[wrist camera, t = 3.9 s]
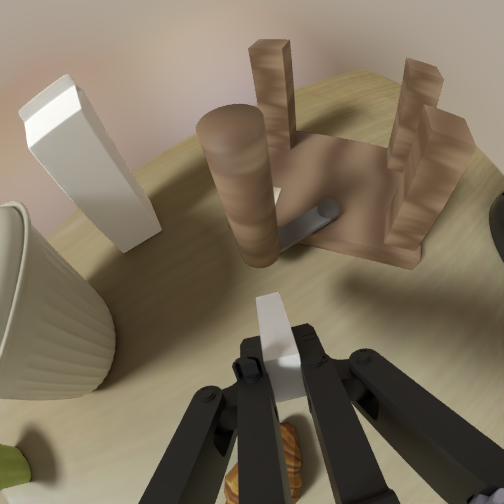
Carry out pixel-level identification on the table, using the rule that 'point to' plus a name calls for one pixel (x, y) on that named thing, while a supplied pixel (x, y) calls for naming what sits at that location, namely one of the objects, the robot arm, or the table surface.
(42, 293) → the canister
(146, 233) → the milk
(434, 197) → the stool seat
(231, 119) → the hinged leg
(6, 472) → the plant pot
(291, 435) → the croissant
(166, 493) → the robot arm
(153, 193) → the table surface
